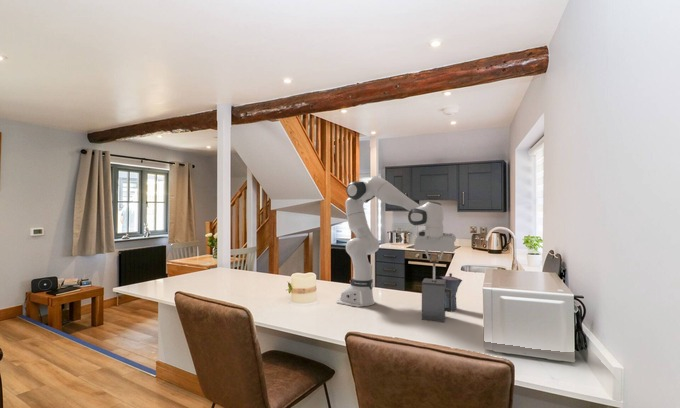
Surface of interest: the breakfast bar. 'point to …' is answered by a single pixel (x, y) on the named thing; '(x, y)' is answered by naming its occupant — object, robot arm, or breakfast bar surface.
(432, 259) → the plunger
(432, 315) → the tall grey box
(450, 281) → the moka pot
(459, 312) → the breakfast bar surface
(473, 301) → the breakfast bar surface
